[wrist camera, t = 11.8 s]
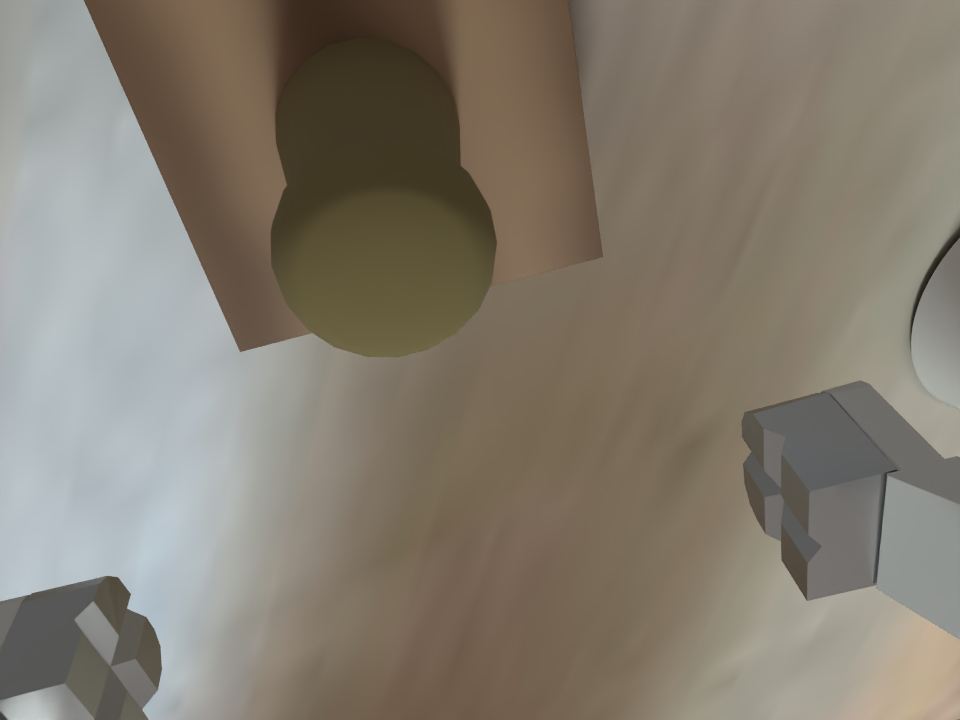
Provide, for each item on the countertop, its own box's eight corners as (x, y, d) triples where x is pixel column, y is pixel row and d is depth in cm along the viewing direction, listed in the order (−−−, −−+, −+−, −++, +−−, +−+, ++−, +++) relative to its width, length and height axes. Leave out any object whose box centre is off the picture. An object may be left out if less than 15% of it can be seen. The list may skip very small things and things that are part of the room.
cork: (258, 45, 25) (215, 157, 15) (454, 30, 25) (526, 129, 16) (291, 229, 28) (272, 413, 19) (464, 212, 29) (529, 381, 19)
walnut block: (504, -176, 28) (543, -183, 23) (564, 199, 35) (603, 256, 30) (106, -77, 27) (56, -62, 22) (252, 281, 35) (240, 351, 30)
